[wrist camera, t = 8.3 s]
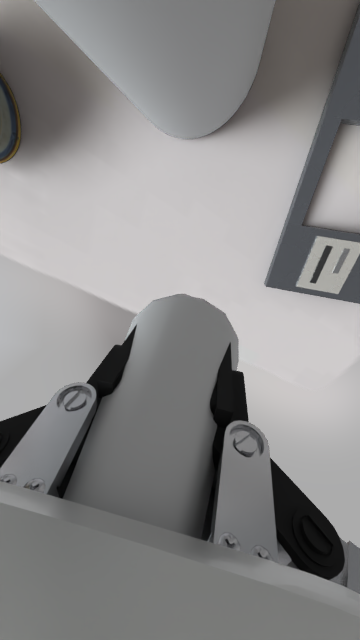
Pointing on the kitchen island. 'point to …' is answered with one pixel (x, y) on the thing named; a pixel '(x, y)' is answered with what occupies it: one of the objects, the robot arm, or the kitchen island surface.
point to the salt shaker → (159, 420)
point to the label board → (304, 241)
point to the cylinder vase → (172, 54)
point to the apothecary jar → (8, 123)
